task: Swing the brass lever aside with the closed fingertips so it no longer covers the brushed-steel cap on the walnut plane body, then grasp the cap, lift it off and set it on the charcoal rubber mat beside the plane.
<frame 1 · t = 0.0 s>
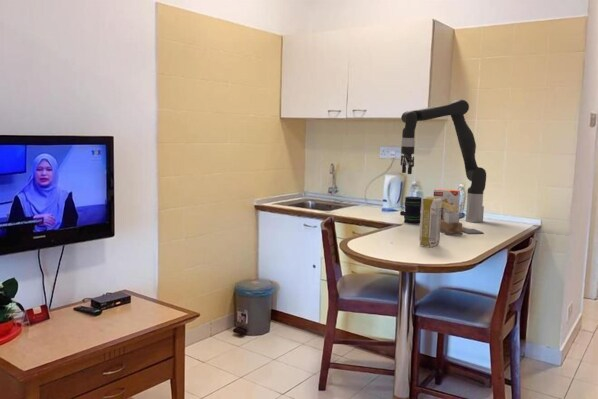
hand: (406, 173, 307), 29 cm above the worktop, fingers open, 8 cm apart
juice carton: (429, 245, 251), on the worktop
cap: (451, 222, 281), point 6 cm above the worktop, touching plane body
mat: (471, 232, 285), on the worktop
lever: (447, 211, 286), point 11 cm above the worktop, hinge at 0.0°
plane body: (445, 231, 287), on the worktop
cracker box: (444, 225, 306), on the worktop
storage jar: (412, 222, 312), on the worktop
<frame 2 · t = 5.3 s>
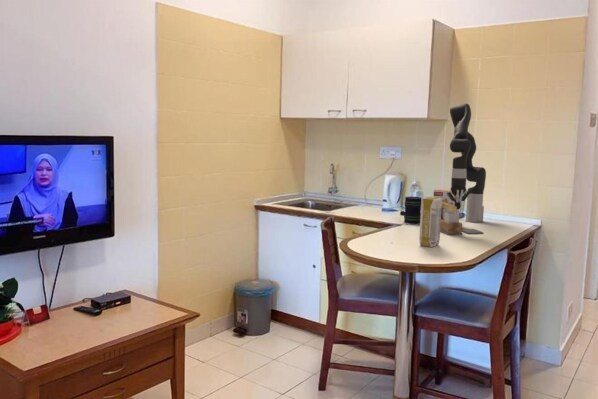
hand: (457, 209, 280), 13 cm above the worktop, fingers closed
lever: (446, 211, 286), point 11 cm above the worktop, hinge at 1.6°, touching gripper
everything else where it was.
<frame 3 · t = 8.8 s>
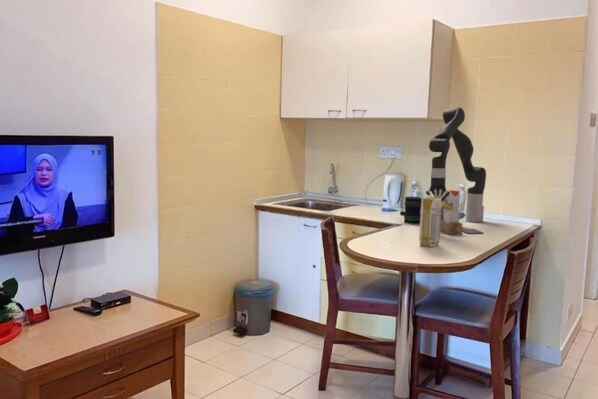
hand: (437, 208, 280), 13 cm above the worktop, fingers closed
lever: (435, 211, 287), point 11 cm above the worktop, hinge at 49.4°, touching gripper
everything else where it was.
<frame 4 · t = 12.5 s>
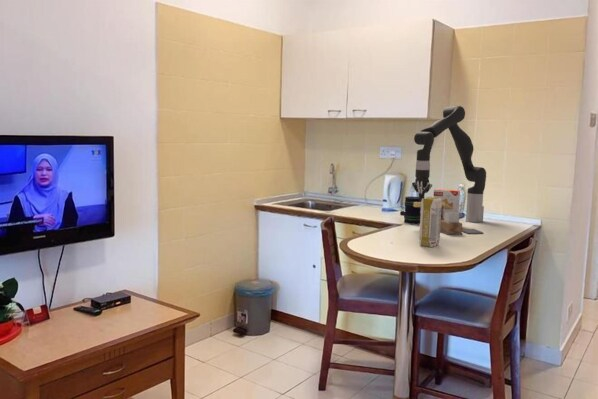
hand: (421, 200, 287), 17 cm above the worktop, fingers closed
lever: (429, 210, 291), point 11 cm above the worktop, hinge at 91.8°
everything else where it was.
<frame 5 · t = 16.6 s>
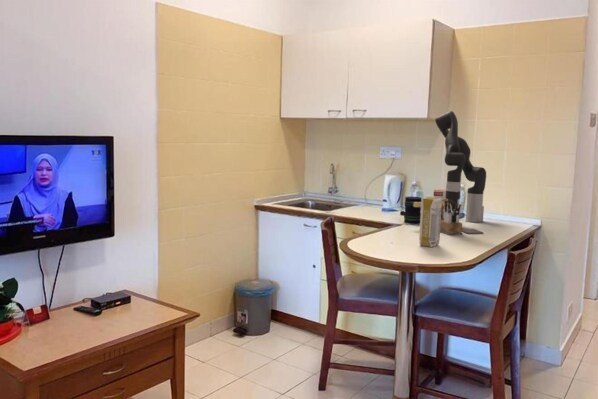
hand: (451, 221, 281), 6 cm above the worktop, fingers closed on cap, 5 cm apart
cap: (451, 222, 281), point 6 cm above the worktop, touching gripper, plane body
everything else where it was.
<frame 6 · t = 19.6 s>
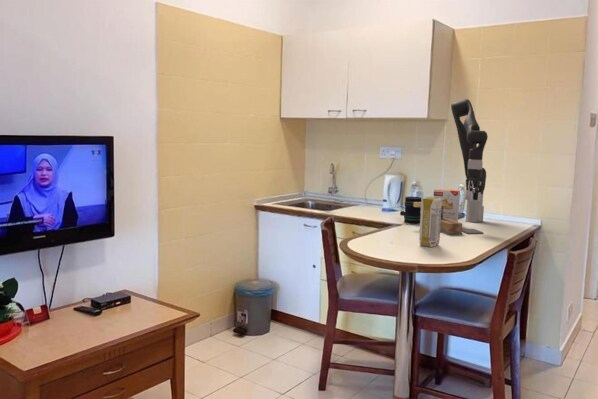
hand: (472, 199, 283), 18 cm above the worktop, fingers closed on cap, 5 cm apart
cap: (472, 199, 283), point 18 cm above the worktop, touching gripper
everything else where it was.
when the fingers open (3 cm above the worktop, at t = 22.7 s): cap drops 2 cm, resting on mat.
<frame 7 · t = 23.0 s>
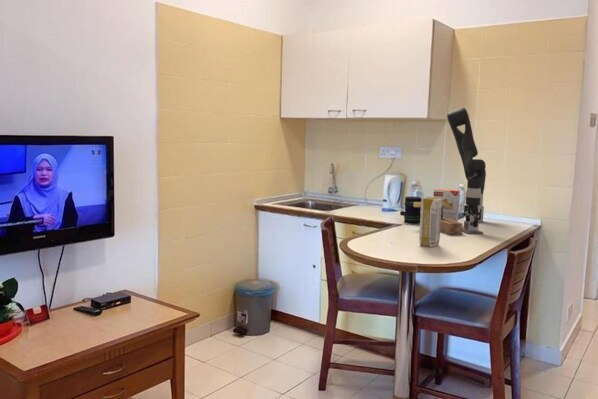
hand: (471, 225, 285), 4 cm above the worktop, fingers open, 8 cm apart
cap: (470, 230, 285), point 1 cm above the worktop, touching mat
everything else where it was.
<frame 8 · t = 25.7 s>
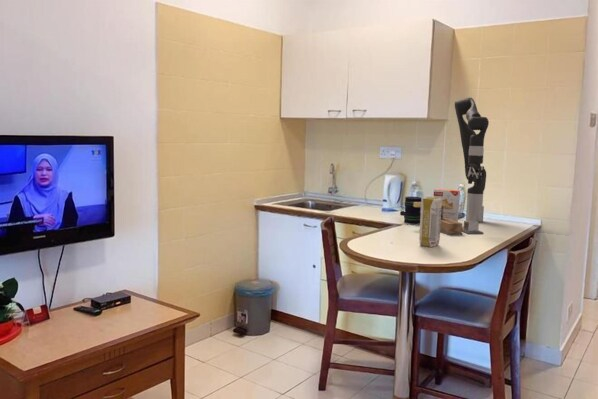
hand: (474, 184, 282), 26 cm above the worktop, fingers open, 8 cm apart
nothing on the worktop moved.
at the end: cap inside the target area (0.2 cm from its centre), point 0.8 cm above the worktop; lever at +92° (first picture: +0°); cap tilted 0° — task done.
